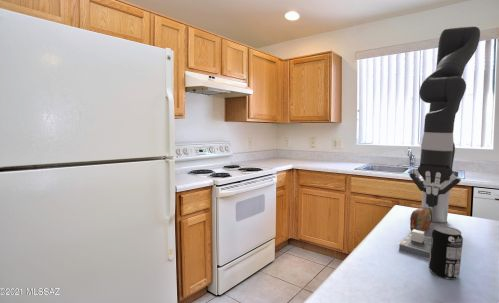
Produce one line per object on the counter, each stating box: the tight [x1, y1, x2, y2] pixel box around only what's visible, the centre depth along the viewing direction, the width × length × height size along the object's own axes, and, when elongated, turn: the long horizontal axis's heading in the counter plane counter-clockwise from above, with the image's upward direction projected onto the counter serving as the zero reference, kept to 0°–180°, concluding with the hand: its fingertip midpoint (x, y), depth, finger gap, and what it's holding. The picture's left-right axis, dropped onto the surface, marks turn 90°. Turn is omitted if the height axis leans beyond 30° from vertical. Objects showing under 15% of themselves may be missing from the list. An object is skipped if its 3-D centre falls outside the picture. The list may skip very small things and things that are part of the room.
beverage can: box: [428, 225, 464, 280], centre depth 72 cm, size 7×7×12 cm
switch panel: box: [398, 232, 432, 260], centre depth 86 cm, size 13×12×2 cm
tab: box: [411, 229, 425, 243], centre depth 88 cm, size 2×3×3 cm
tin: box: [409, 206, 433, 233], centre depth 102 cm, size 15×3×8 cm, turn 129°
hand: (431, 206), depth 81 cm, fingers closed
